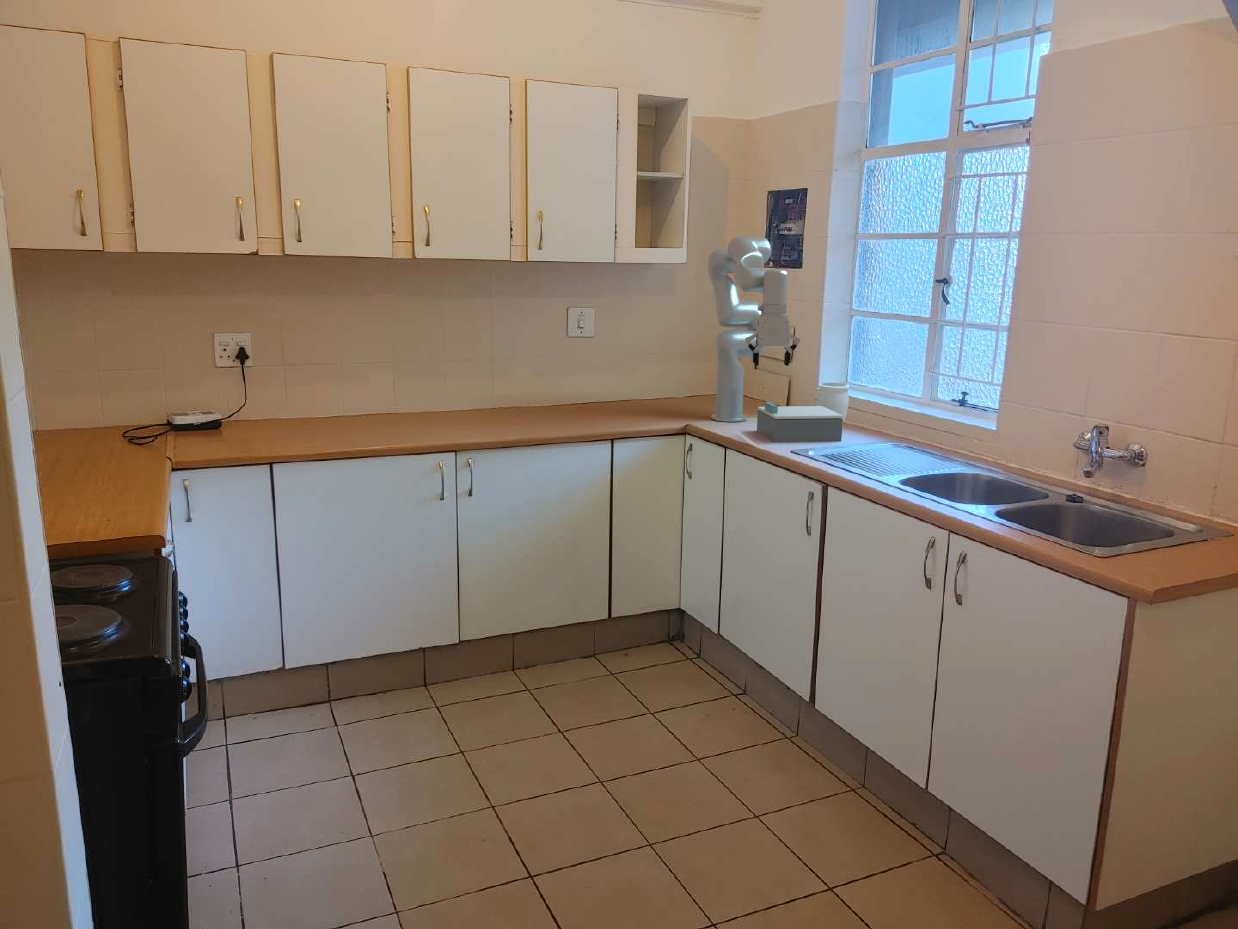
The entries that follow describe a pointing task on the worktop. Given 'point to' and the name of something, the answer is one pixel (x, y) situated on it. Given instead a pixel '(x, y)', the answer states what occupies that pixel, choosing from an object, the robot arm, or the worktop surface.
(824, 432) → the storage box
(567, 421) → the worktop surface
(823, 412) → the lid
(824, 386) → the jar
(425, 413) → the worktop surface
